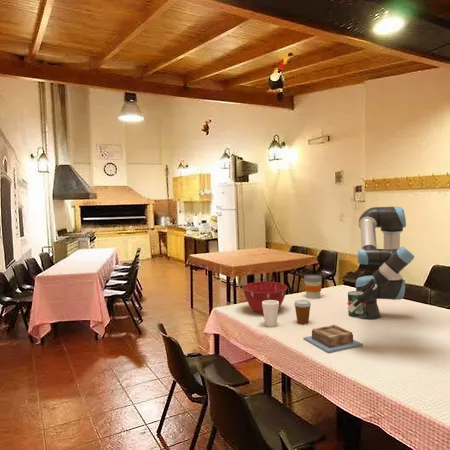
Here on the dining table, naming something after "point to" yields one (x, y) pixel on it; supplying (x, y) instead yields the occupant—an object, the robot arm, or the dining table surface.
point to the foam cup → (270, 312)
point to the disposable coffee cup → (302, 311)
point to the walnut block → (332, 336)
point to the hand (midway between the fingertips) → (349, 307)
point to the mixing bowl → (263, 293)
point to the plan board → (332, 349)
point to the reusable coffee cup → (312, 286)
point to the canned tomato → (360, 310)
